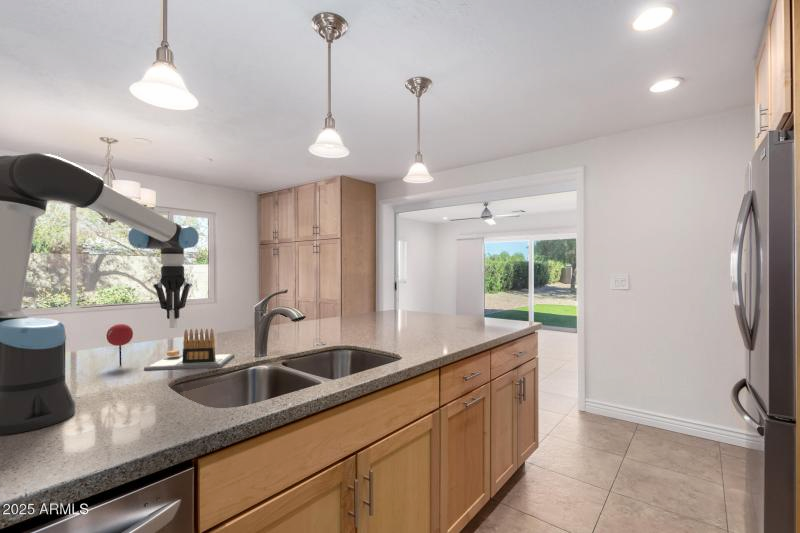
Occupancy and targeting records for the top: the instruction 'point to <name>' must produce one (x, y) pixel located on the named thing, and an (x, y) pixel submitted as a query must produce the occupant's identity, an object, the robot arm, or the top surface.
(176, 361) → the board
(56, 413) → the robot arm
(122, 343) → the lollipop
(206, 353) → the ammunition clip
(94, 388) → the top surface
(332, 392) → the top surface
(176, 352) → the button
